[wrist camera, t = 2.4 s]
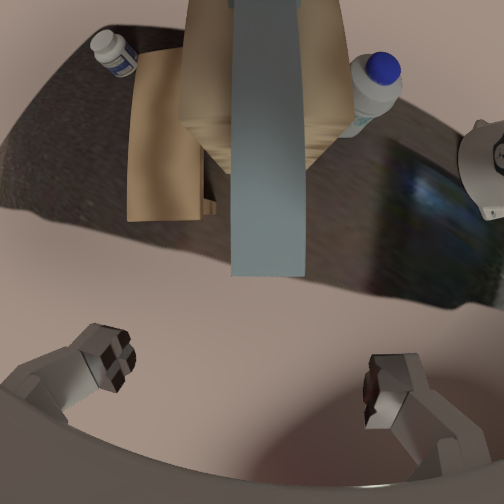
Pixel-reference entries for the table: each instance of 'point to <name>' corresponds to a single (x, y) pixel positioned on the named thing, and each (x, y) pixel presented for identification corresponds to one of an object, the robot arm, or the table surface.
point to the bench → (163, 147)
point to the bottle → (373, 88)
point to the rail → (267, 141)
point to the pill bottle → (114, 53)
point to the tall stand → (220, 76)
